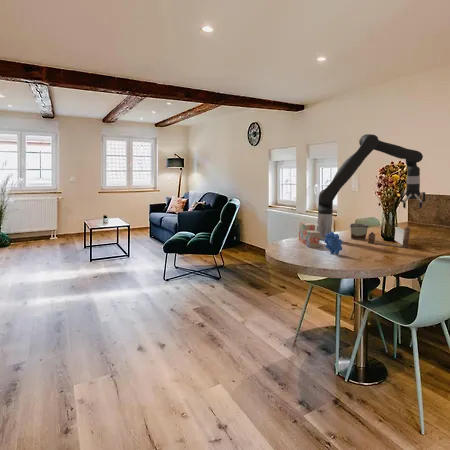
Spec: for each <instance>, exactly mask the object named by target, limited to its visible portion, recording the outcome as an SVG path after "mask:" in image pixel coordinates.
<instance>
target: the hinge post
mask: <svg viewBox="0 0 450 450" xmlns="http://www.w3.org/2000/svg"><path fill="white" fill-rule="evenodd" d="M403 230H404V237H403V245H402V246H403V247H401V248H403V249H409V242H410V232H411V228H410V227H409V226H405V227H404V229H403Z"/></svg>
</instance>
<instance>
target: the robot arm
mask: <svg viewBox="0 0 450 450" xmlns="http://www.w3.org/2000/svg"><path fill="white" fill-rule="evenodd" d="M358 142H359V148H358V149H357V150H356V151H355V152H354V153H353V154H352V155H350V156H349V157H348V158H346V160H345V161H344V162H343V163H342V165H340V167H339V168H338V169H337V171H336V173H335V175H334V177H333V179H332V180H331V182H330V183H329V184H328V185H327V186H326V188H324V189H322V190H321V191H320V192H319V194H318V206H317V209H318V211H317V224H316V231H318V232H320V239H319V241H324V239H325V238H326V234H327V233H329V234H330V232H332V228H333V227H332V226H333V214H334V213H333V212H334V211H333V205H334V204H333V203H334V200H335V198H336V196H337V194H338V193H339V191H340V190H341V189H342V188H343V186H345V184H346V183H347V182H348V181H349V180H350V179H351V178H352V176H353V175H354V174H355V173H356V171H357V170H359V167H360V166H361V165H362V164H363V163H364V161H365V159H366V158H367V157H368V156H369V155H370V154H371V153H372V152H373V150H374V151H377V152H380V153H383V154H386V155H388V156H390V157H391V156H392V157H394V158H397V159H401V160H402V159H403V160H405V164H406V169H407V172H406V173H407V176H406V189H405V191H406V192H400V197H401V199H400V198H399V199H400V200H399V201H400V202H401V203H402V207H403V208H404V209H406V208H407V207H406V206H407V205H406V203H407V201H408V200H416V199H417V201H419V202H418V208H419V209H421V208H423V203H424V202H426V192H425V191H423V192H421V190H420V188H421V176H420V175H421V173H420V172H421V169H420V167H419V166H418V164H417V163H419V162H421V161H422V160H423V158H424V155H423V154H422V152H420V151H419V150H415V149H412V148H411V149H410V148H406V147H403V146H400V145H396V144H393V143H389V142H385V141H382V140H380V139H379V137H378V136H377V135H375V134H370V133H369V134H368V133H367V134H364V135H362V136H361V137H360V138H359V140H358ZM420 195H421V196H422V199H421V198H420ZM404 196H406V197H405V199H404V198H403V197H404Z"/></svg>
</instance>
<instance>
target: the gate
mask: <svg viewBox="0 0 450 450" xmlns="http://www.w3.org/2000/svg"><path fill="white" fill-rule="evenodd" d="M394 229H395V232H394V241H395V242H397V243H398V244H400V245H401V246H403V237H404V229H403V228H401V227H399V226H395V227H394Z"/></svg>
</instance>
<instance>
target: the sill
mask: <svg viewBox="0 0 450 450" xmlns="http://www.w3.org/2000/svg"><path fill="white" fill-rule="evenodd" d="M375 243H376V245H382V246H389V247H394V248H402V247H403V245H402V244H400V245H398V244H394V243H387V242H381V241H375ZM375 243H374V244H375Z"/></svg>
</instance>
